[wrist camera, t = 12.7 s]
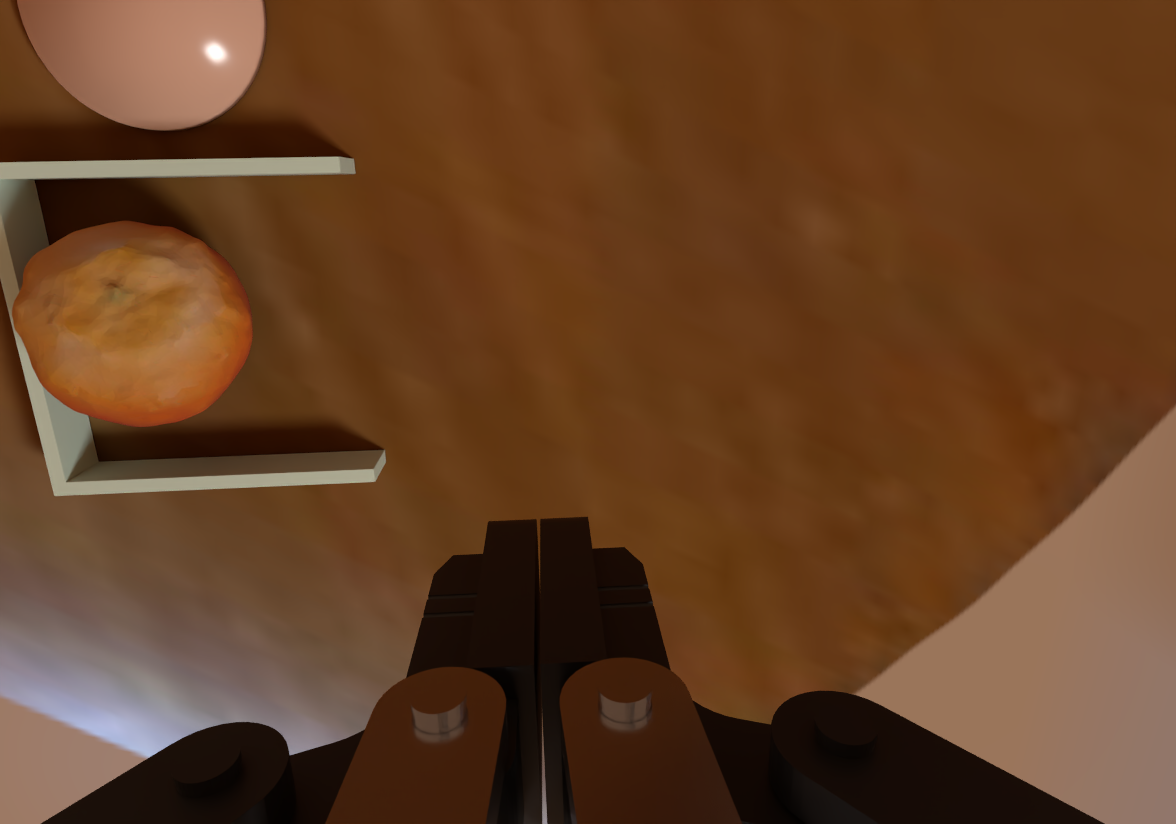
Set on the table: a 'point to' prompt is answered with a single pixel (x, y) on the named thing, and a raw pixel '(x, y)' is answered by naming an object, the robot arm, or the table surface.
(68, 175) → the pale gray u-shaped frame
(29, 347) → the fruit
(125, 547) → the table surface
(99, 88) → the pink shiny oval part
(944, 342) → the table surface
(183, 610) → the table surface
